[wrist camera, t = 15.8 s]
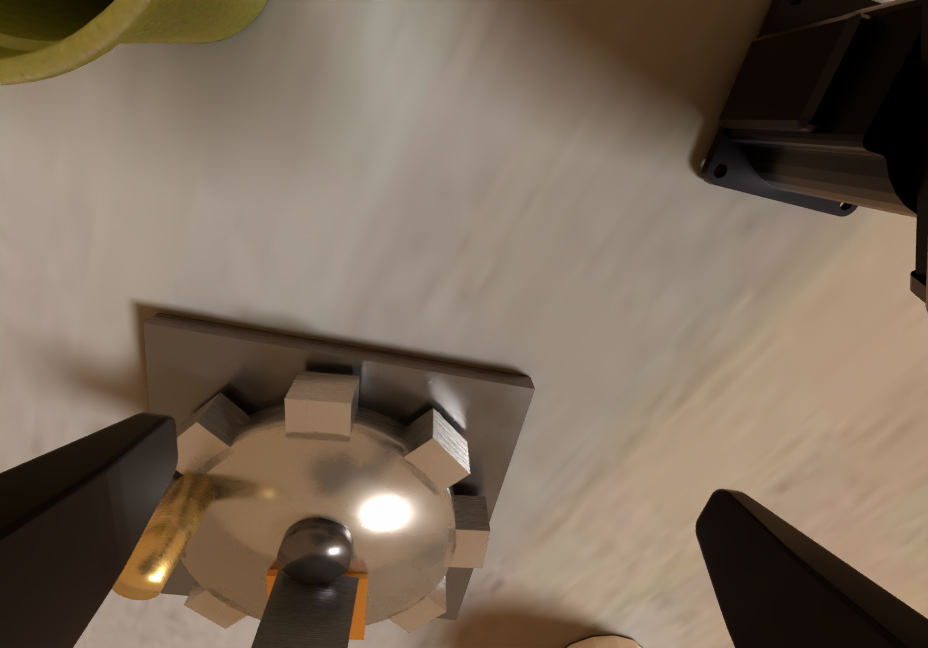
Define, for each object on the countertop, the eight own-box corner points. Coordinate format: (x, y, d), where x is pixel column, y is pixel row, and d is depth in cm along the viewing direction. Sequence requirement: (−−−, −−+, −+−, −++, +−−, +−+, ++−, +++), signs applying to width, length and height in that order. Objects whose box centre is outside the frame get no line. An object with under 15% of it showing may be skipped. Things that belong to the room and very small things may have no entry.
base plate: (530, 377, 21) (534, 389, 20) (455, 602, 27) (455, 619, 26) (157, 312, 18) (143, 322, 17) (170, 575, 25) (160, 593, 24)
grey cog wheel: (256, 303, 17) (170, 391, 11) (548, 475, 21) (586, 598, 16) (109, 538, 21) (-2, 682, 16) (376, 641, 26) (360, 780, 20)
